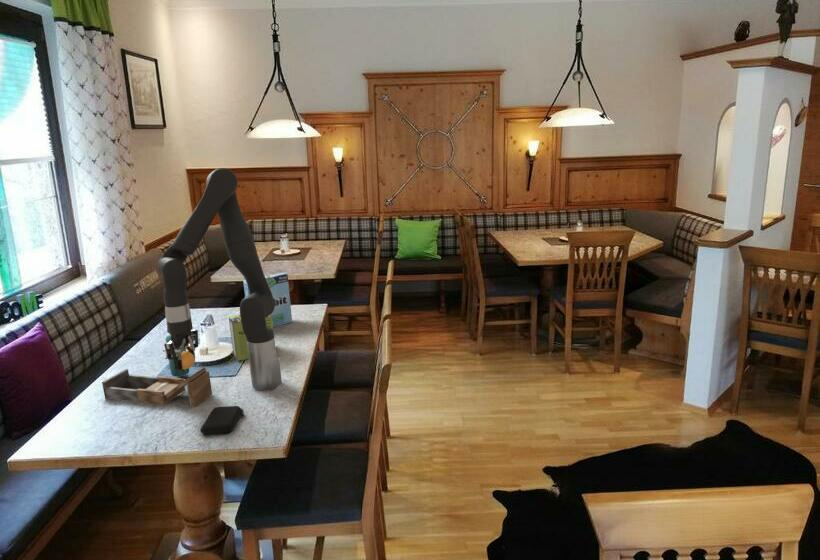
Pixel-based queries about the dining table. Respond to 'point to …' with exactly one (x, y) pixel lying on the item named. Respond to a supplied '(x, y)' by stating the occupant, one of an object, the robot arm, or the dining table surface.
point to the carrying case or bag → (221, 420)
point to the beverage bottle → (173, 370)
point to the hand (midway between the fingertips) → (185, 365)
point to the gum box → (278, 298)
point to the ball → (187, 359)
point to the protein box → (242, 336)
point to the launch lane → (157, 388)
